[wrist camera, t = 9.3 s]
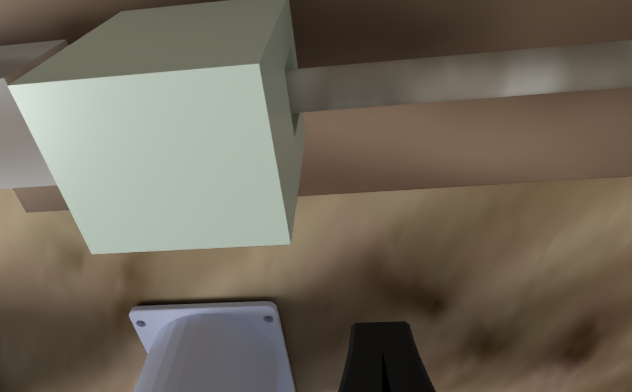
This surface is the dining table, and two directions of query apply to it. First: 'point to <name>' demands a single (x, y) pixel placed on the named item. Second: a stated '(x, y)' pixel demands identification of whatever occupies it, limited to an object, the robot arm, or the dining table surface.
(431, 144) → the board
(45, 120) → the pale green block
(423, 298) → the dining table surface
